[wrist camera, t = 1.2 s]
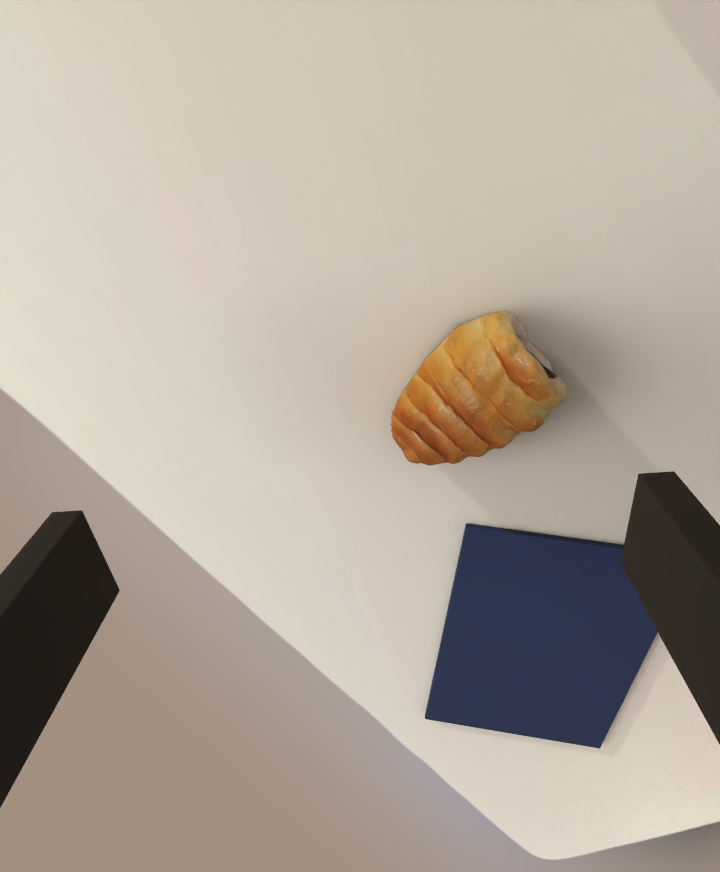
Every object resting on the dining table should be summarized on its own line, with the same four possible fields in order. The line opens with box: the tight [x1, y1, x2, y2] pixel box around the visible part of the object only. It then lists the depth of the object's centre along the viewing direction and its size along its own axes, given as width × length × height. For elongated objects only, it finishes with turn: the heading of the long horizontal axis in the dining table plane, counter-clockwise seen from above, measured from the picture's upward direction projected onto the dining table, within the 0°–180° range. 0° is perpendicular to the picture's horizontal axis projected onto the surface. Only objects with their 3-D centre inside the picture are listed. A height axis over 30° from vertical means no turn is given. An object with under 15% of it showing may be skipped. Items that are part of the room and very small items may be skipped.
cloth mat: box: [425, 524, 658, 748], centre depth 38 cm, size 14×20×1 cm
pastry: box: [391, 312, 567, 465], centre depth 28 cm, size 9×7×4 cm
